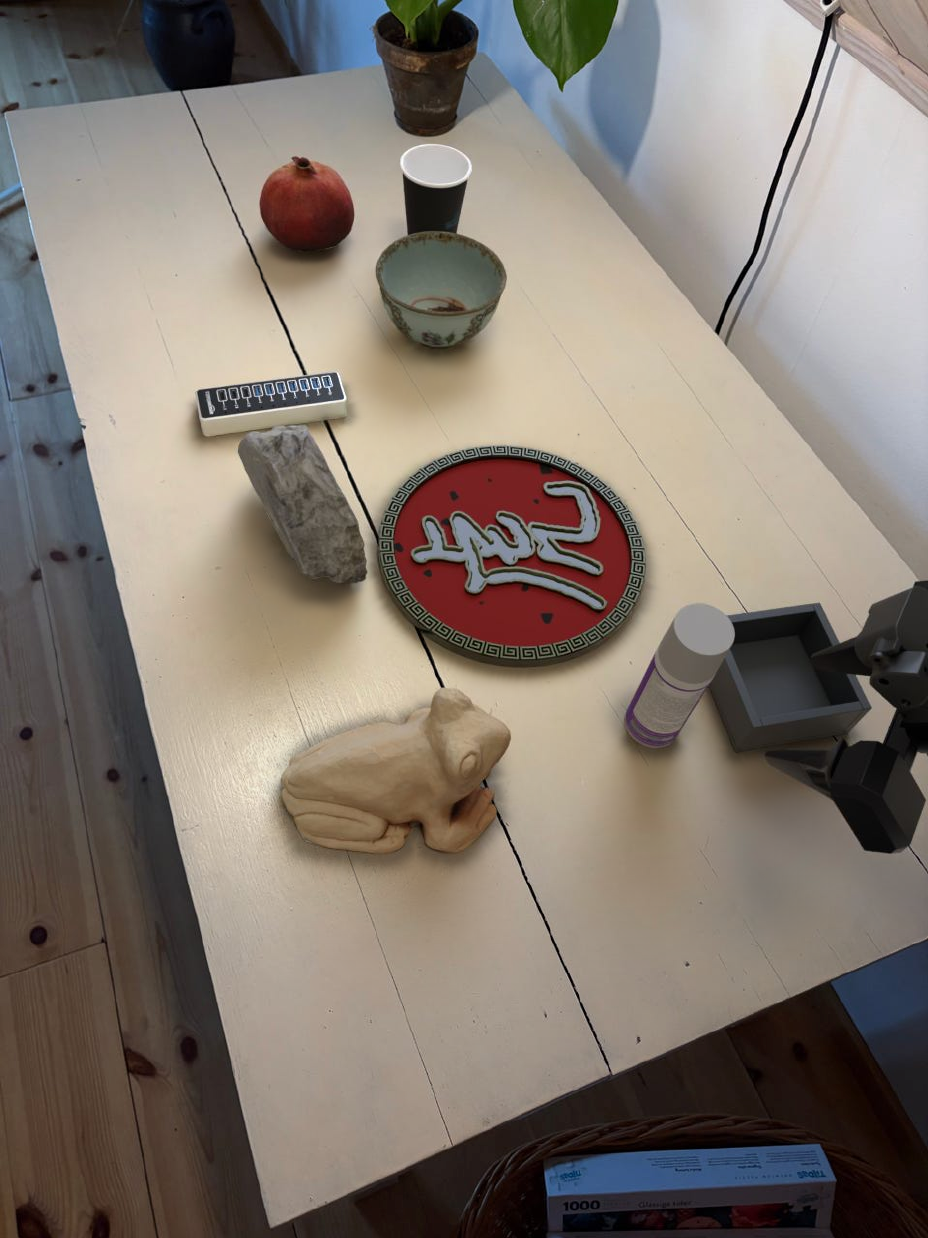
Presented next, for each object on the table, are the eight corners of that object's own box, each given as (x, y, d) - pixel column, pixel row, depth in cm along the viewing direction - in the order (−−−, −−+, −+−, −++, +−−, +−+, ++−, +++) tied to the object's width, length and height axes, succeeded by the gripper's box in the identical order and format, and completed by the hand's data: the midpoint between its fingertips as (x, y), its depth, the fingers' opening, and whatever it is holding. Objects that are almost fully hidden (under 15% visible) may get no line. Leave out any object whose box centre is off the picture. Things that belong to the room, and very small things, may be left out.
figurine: (510, 847, 73) (529, 797, 64) (283, 870, 70) (272, 821, 62) (487, 706, 79) (502, 644, 71) (279, 722, 77) (268, 659, 69)
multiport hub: (347, 417, 96) (347, 400, 94) (203, 437, 93) (199, 420, 91) (339, 386, 99) (338, 370, 97) (197, 405, 95) (194, 388, 93)
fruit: (251, 258, 109) (241, 176, 100) (279, 209, 114) (272, 128, 106) (340, 277, 108) (338, 197, 100) (364, 227, 114) (364, 147, 105)
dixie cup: (393, 231, 114) (395, 143, 104) (458, 229, 115) (465, 142, 106) (401, 273, 109) (404, 185, 100) (468, 271, 111) (477, 184, 102)
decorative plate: (671, 654, 82) (384, 664, 79) (667, 661, 83) (384, 671, 80) (620, 443, 96) (373, 445, 93) (617, 451, 97) (373, 453, 94)
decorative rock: (373, 595, 85) (373, 485, 72) (304, 622, 82) (292, 512, 70) (302, 470, 92) (292, 349, 79) (237, 491, 90) (215, 370, 77)
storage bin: (799, 630, 86) (820, 601, 83) (848, 733, 81) (872, 708, 77) (692, 645, 85) (708, 617, 81) (735, 752, 79) (753, 727, 75)
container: (647, 689, 82) (698, 590, 69) (689, 725, 80) (749, 631, 68) (612, 721, 80) (658, 626, 67) (655, 759, 78) (710, 668, 66)
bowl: (495, 295, 109) (503, 233, 102) (501, 376, 101) (510, 316, 95) (376, 289, 108) (376, 226, 101) (373, 371, 100) (374, 309, 94)
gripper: (1027, 498, 56) (788, 535, 68) (942, 736, 46) (682, 730, 58) (1083, 633, 60) (849, 645, 72) (1016, 875, 51) (760, 843, 63)
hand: (790, 708), depth 66 cm, fingers open, 9 cm apart
